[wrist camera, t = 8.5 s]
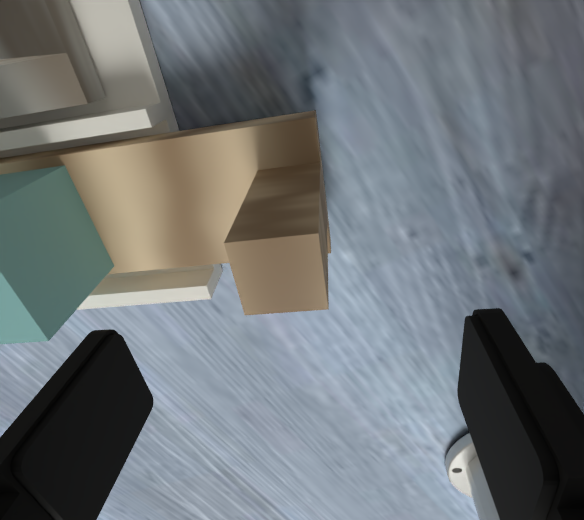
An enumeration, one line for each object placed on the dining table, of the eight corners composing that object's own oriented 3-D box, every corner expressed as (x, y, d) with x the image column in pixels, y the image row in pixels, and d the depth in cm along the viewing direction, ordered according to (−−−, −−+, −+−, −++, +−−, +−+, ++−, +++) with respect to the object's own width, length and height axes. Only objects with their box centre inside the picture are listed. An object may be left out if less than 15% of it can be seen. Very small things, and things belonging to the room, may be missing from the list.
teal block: (64, 165, 18) (-37, 218, 13) (114, 266, 21) (48, 340, 16) (-39, 180, 19) (-172, 235, 14) (23, 275, 22) (-67, 348, 17)
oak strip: (315, 110, 17) (310, 169, 10) (330, 238, 21) (333, 350, 14) (-132, 178, 21) (-372, 257, 14) (-54, 276, 25) (-210, 380, 17)
